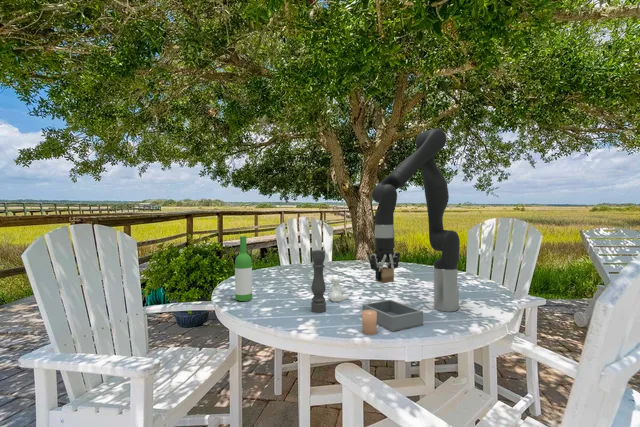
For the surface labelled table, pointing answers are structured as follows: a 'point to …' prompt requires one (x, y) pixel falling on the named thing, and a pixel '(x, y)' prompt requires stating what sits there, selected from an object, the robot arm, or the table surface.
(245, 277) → the wine bottle
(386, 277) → the walnut cube
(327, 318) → the table surface
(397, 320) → the grey tote
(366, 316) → the tan cylinder
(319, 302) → the candle holder
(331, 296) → the white creature statuette
